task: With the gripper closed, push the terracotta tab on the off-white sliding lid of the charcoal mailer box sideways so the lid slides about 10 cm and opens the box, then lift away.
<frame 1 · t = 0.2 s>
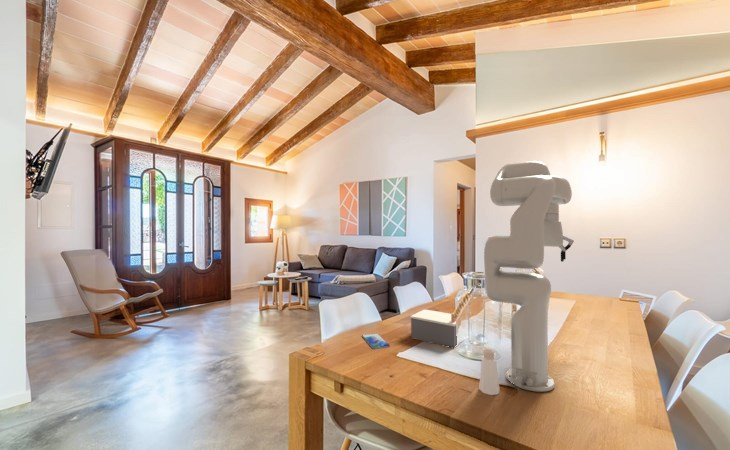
hand: (548, 260, 128), 31 cm above the table, tool pointing down, fingers open, 9 cm apart
lid: (438, 313, 128), point 10 cm above the table, slide at 0.0 cm
smartphone: (375, 342, 126), on the table
pepper shaker: (489, 390, 88), on the table
mailer box: (438, 338, 128), on the table
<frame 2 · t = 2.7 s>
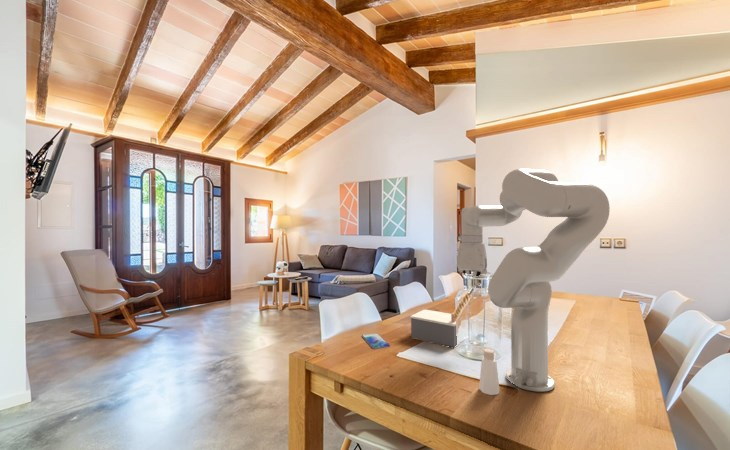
hand: (472, 288, 119), 22 cm above the table, tool pointing down, fingers closed
nothing on the table moved.
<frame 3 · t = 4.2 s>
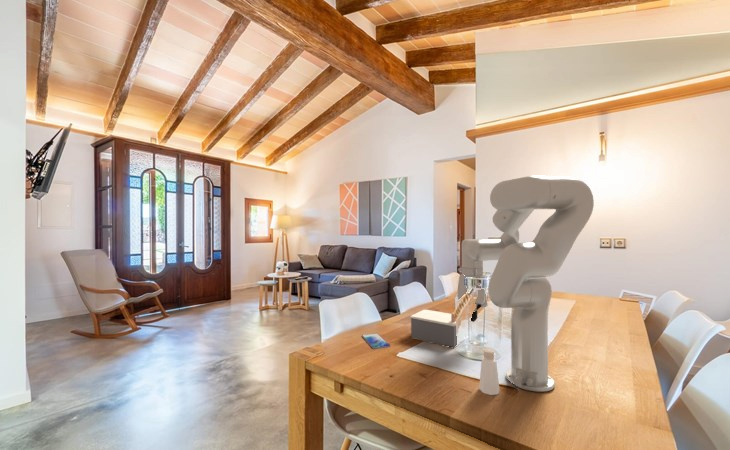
hand: (472, 320, 119), 10 cm above the table, tool pointing down, fingers closed
nothing on the table moved.
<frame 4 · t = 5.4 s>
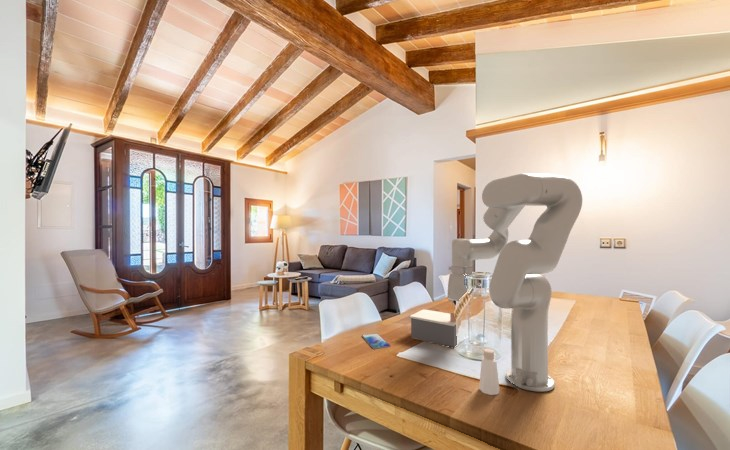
hand: (462, 318, 122), 10 cm above the table, tool pointing down, fingers closed
lid: (437, 313, 128), point 10 cm above the table, slide at 0.4 cm, touching gripper
everything else where it was.
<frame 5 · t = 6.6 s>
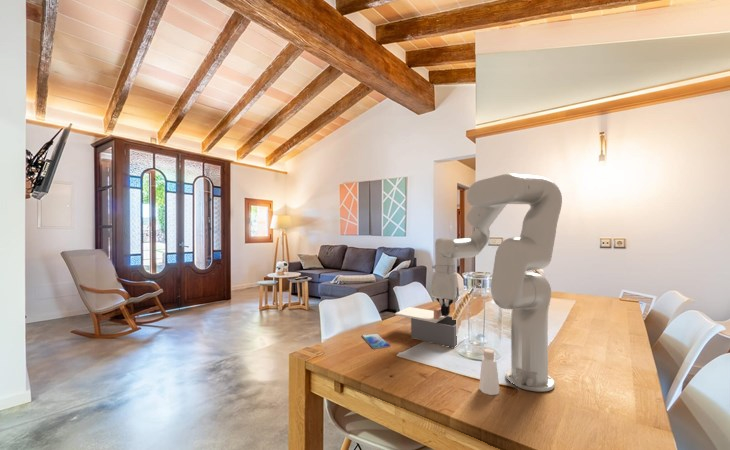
hand: (445, 315, 126), 10 cm above the table, tool pointing down, fingers closed
lid: (421, 310, 132), point 10 cm above the table, slide at 7.3 cm, touching gripper
everything else where it was.
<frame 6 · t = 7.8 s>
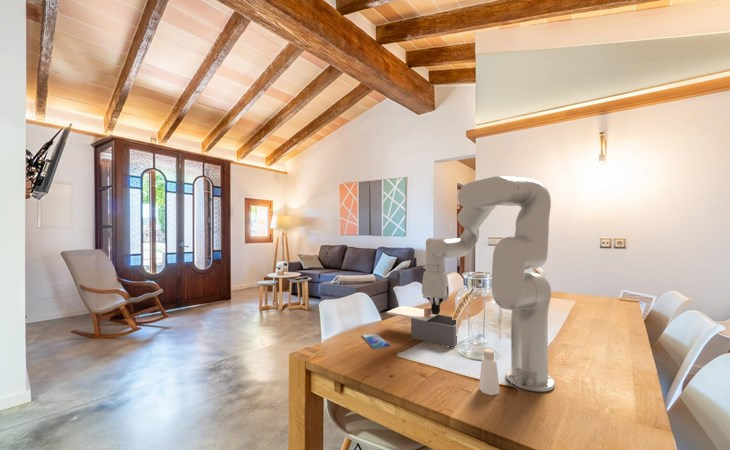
hand: (435, 313, 128), 10 cm above the table, tool pointing down, fingers closed
lid: (412, 309, 135), point 10 cm above the table, slide at 11.4 cm, touching gripper
everything else where it was.
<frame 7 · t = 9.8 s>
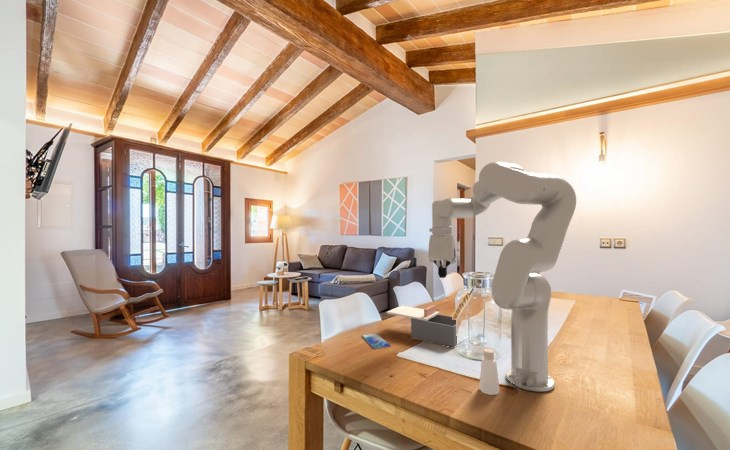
hand: (442, 277, 126), 25 cm above the table, tool pointing down, fingers closed
lid: (412, 309, 135), point 10 cm above the table, slide at 11.4 cm
everything else where it was.
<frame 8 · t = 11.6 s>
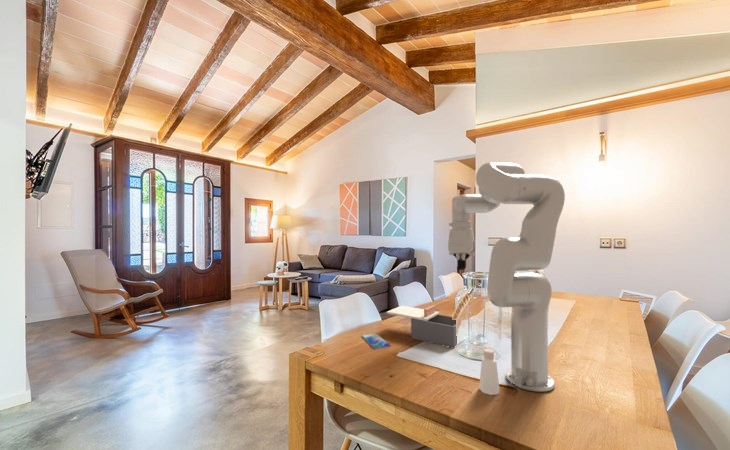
hand: (461, 269, 133), 27 cm above the table, tool pointing down, fingers closed
nothing on the table moved.
at the end: lid slide at 11.4 cm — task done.
